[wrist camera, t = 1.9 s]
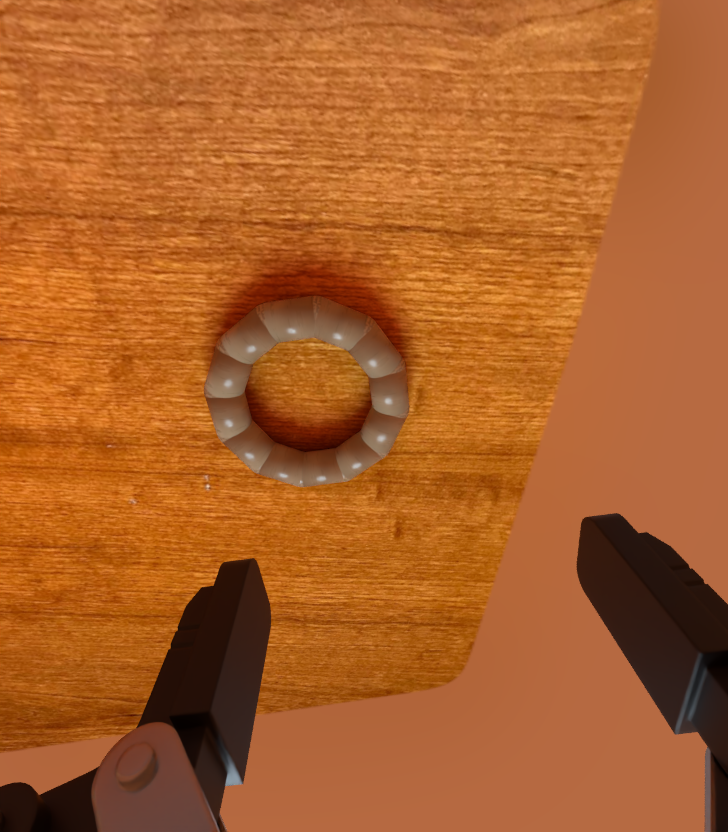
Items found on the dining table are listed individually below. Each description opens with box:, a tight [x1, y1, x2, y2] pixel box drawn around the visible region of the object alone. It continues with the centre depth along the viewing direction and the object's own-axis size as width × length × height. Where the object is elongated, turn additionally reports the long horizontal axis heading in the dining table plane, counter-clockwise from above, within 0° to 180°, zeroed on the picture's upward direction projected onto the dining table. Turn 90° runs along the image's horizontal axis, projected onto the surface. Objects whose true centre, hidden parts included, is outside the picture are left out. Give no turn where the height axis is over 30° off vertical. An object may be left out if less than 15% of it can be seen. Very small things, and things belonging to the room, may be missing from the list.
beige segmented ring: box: [204, 296, 409, 487], centre depth 21 cm, size 10×10×2 cm
